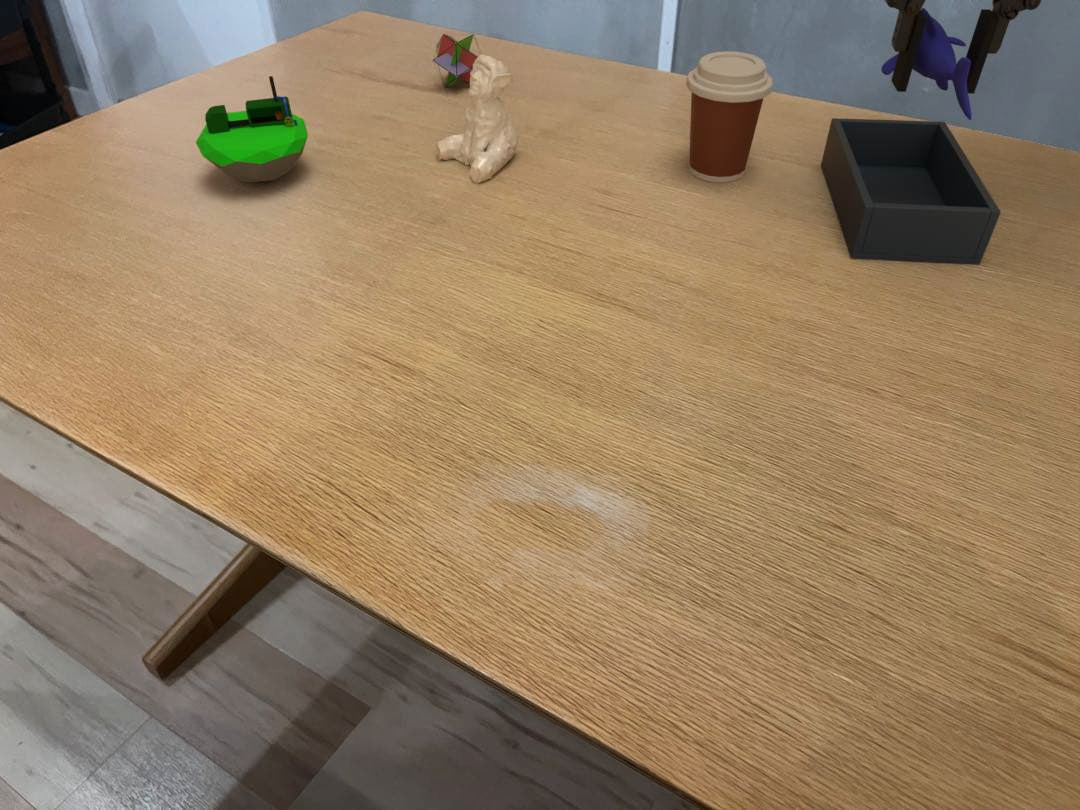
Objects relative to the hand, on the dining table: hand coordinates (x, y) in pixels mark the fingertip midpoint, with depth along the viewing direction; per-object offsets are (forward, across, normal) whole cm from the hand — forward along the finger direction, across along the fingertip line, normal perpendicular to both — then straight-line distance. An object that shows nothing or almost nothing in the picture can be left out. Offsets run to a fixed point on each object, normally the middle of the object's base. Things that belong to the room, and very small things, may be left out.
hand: (932, 86), depth 77 cm
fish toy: (0, 0, 0) cm, 1 cm away
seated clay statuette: (+14, -45, +9) cm, 48 cm away
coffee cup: (+14, -18, +9) cm, 24 cm away
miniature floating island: (+14, -70, +4) cm, 71 cm away
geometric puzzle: (+14, -52, +32) cm, 62 cm away
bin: (+14, 0, +1) cm, 14 cm away
